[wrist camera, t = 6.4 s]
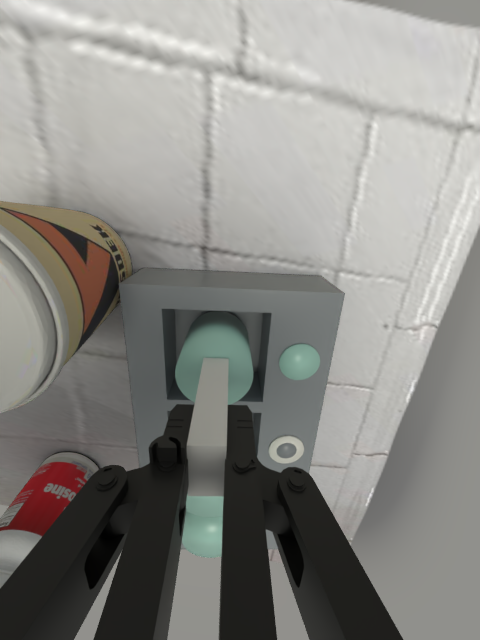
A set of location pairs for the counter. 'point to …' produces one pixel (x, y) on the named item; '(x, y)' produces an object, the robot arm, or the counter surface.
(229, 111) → the counter surface
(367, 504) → the counter surface
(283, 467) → the board
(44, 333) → the coffee cup
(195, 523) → the button
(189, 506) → the button
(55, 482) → the pill bottle
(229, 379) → the button
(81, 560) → the robot arm
